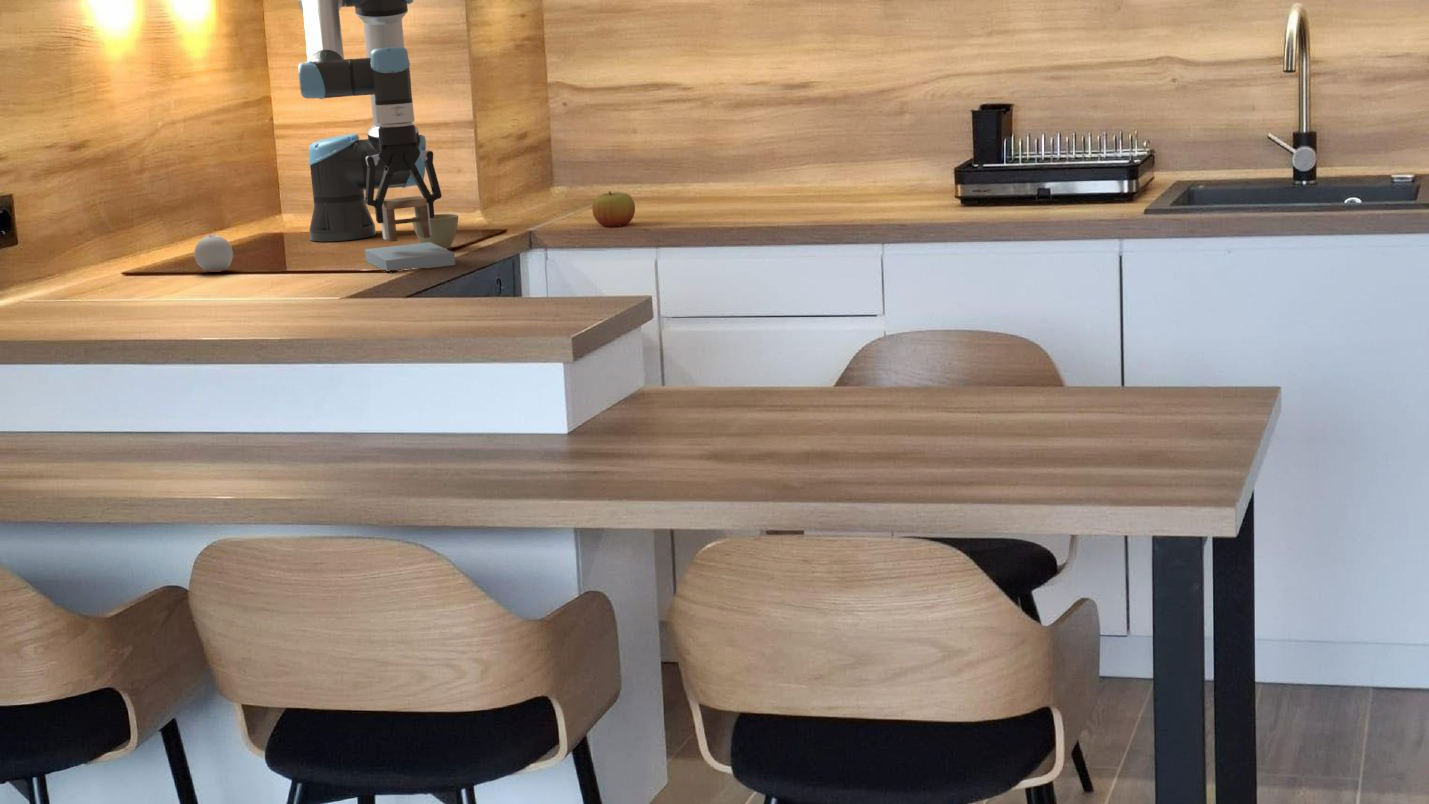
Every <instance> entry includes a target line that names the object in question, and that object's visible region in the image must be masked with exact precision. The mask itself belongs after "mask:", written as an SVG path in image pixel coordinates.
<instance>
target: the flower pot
mask: <svg viewBox="0 0 1429 804" xmlns="http://www.w3.org/2000/svg"><path fill="white" fill-rule="evenodd" d="M412 218H416V216H413V217H412ZM430 224H431V235H430V237H429V238H423V237H421V236H418V235H417V227H416V222H413V223H412V226H413V230H414V232H415V234H416V236H417V238H418V240H419V243H427V242H431V243H433V244H435V245H438V246H440V247H442V248H449V249H450V248H451V246H452V244H453V242H454V239H455V237H456V234H457V231H458V230H457V229H458V224H459V214H455V213H437V214H436V213H434V218H430Z"/></svg>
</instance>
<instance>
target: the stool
mask: <svg viewBox="0 0 1429 804" xmlns="http://www.w3.org/2000/svg"><path fill="white" fill-rule="evenodd" d="M382 207H386V209H387V219H388V229H389V240H388V241H389V242H391V243H392V242H398V235H397V226H396V225H401V224H413V222H416V227H417V235H418V236H421V237H423V238H429V237H430V232H429V222H428V212H427V201H426V198H424V197H423V196H421V195H417V196H407V197H397V198H387V199H386V198H385V199H384V202H383V205H382ZM408 208H414V213H415V214H414V217H416V218H413V217H410V218H402V219H401V218H400V219H396V216H395V214H396V213H395V210H398V209H399V210H400V209H408ZM417 235H416V236H417Z"/></svg>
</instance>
